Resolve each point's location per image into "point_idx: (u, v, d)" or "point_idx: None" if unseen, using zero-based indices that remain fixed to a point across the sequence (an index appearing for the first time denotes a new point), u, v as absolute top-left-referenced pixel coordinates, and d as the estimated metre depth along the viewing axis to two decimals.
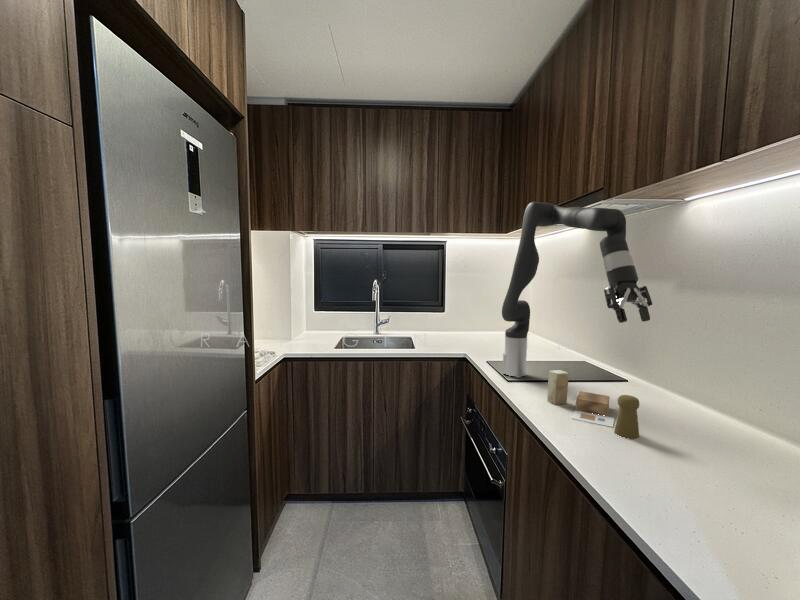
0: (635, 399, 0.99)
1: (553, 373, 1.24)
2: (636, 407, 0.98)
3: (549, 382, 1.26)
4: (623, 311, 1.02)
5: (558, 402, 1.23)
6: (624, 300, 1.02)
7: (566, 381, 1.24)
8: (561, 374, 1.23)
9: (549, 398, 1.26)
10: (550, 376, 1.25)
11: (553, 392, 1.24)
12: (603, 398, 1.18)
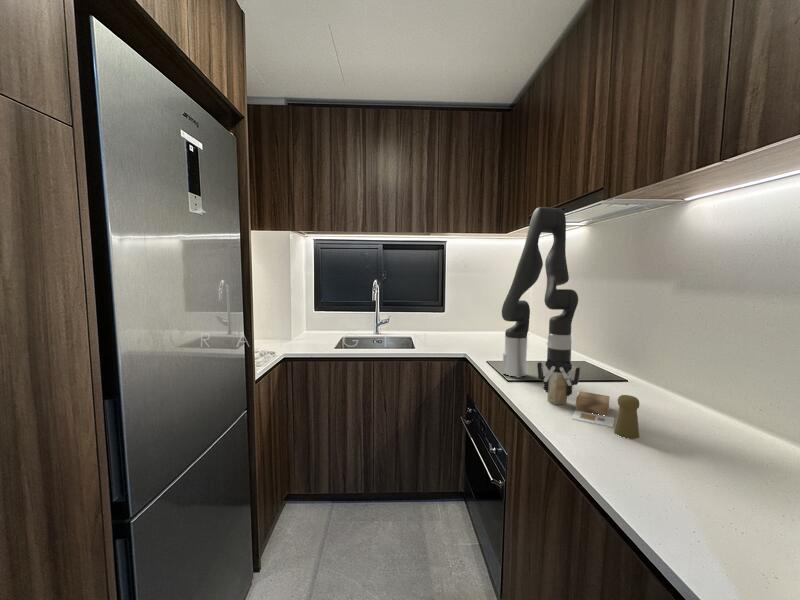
0: (635, 399, 0.99)
1: (553, 373, 1.24)
2: (636, 407, 0.98)
3: (549, 382, 1.26)
4: (546, 384, 1.27)
5: (558, 402, 1.23)
6: (548, 376, 1.26)
7: None
8: (561, 374, 1.23)
9: (549, 398, 1.26)
10: (550, 376, 1.25)
11: (553, 392, 1.24)
12: (603, 398, 1.18)
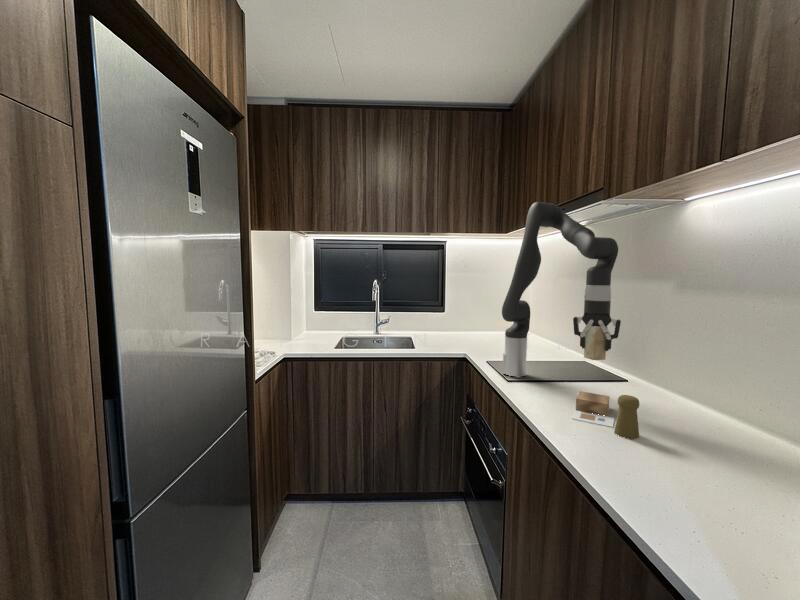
0: (635, 399, 0.99)
1: (591, 327, 1.17)
2: (636, 407, 0.98)
3: (586, 337, 1.19)
4: (583, 340, 1.19)
5: (596, 357, 1.16)
6: (585, 330, 1.18)
7: (605, 335, 1.16)
8: (600, 328, 1.16)
9: (586, 354, 1.19)
10: (587, 331, 1.18)
11: (591, 347, 1.17)
12: (603, 398, 1.18)
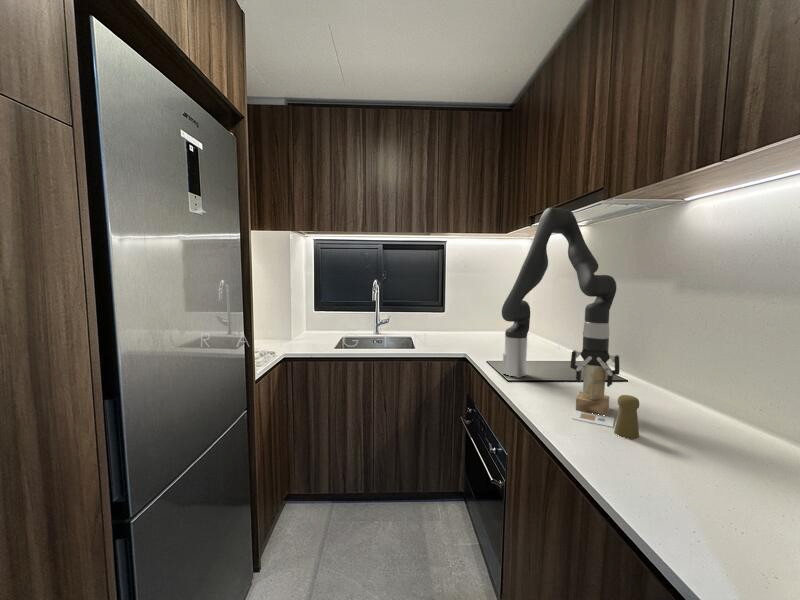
0: (635, 399, 0.99)
1: (590, 366, 1.18)
2: (636, 407, 0.98)
3: (585, 376, 1.20)
4: (579, 374, 1.21)
5: (595, 397, 1.17)
6: (582, 365, 1.19)
7: (603, 375, 1.17)
8: (598, 367, 1.17)
9: (585, 393, 1.20)
10: (586, 370, 1.19)
11: (589, 387, 1.18)
12: None
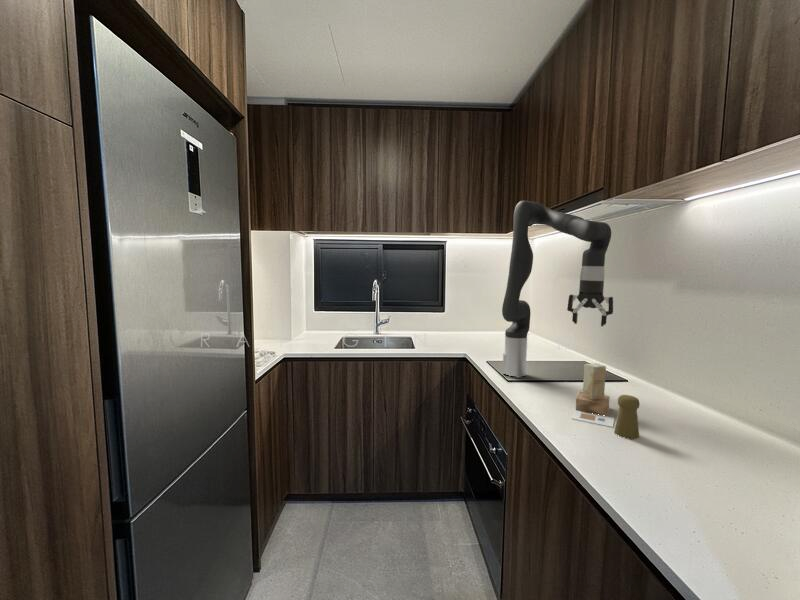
0: (635, 399, 0.99)
1: (590, 366, 1.18)
2: (636, 407, 0.98)
3: (585, 376, 1.20)
4: (575, 315, 1.29)
5: (595, 397, 1.17)
6: (578, 307, 1.28)
7: (603, 375, 1.17)
8: (598, 367, 1.17)
9: (585, 393, 1.20)
10: (586, 370, 1.19)
11: (589, 387, 1.18)
12: None
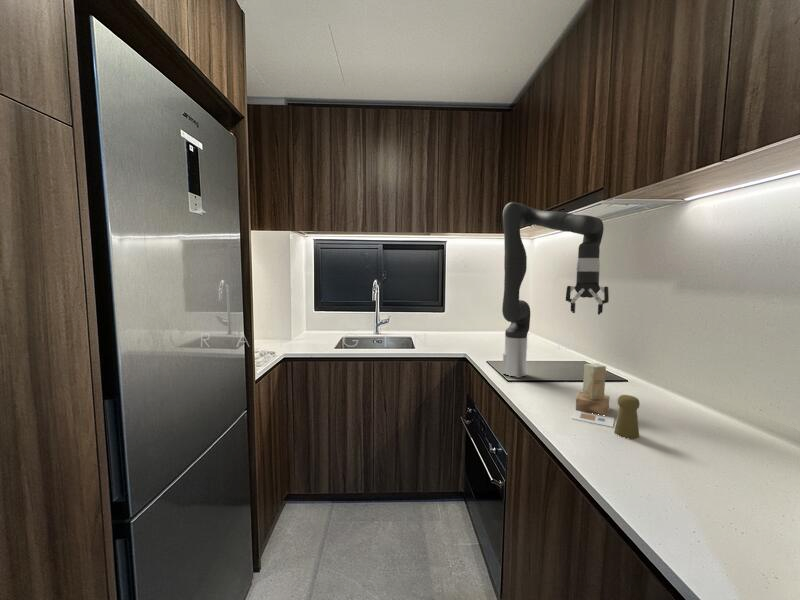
0: (635, 399, 0.99)
1: (590, 366, 1.18)
2: (636, 407, 0.98)
3: (585, 376, 1.20)
4: (573, 305, 1.37)
5: (595, 397, 1.17)
6: (576, 297, 1.36)
7: (603, 375, 1.17)
8: (598, 367, 1.17)
9: (585, 393, 1.20)
10: (586, 370, 1.19)
11: (589, 387, 1.18)
12: None
